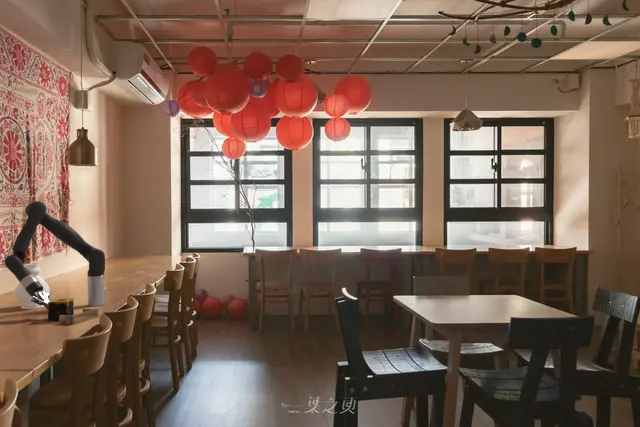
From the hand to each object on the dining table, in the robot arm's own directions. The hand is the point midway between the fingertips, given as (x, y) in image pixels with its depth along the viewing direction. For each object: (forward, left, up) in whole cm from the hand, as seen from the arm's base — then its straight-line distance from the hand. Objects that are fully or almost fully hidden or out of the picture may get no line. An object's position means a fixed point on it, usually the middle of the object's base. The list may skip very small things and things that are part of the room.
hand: (51, 309), depth 299 cm
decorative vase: (-15, -40, -5) cm, 43 cm away
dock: (-5, +17, -5) cm, 18 cm away
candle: (-2, +6, -5) cm, 8 cm away
